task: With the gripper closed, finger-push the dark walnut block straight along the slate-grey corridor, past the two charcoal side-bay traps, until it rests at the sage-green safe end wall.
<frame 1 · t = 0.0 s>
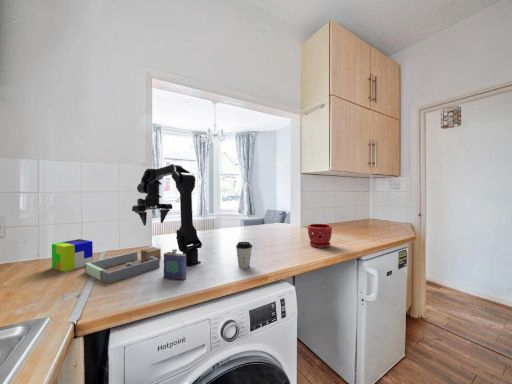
hand: (153, 224, 112), 15 cm above the worktop, fingers open, 9 cm apart
plant pot: (319, 246, 127), on the worktop
walnut block: (150, 260, 102), on the worktop
puzzle toy: (72, 266, 94), on the worktop
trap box: (120, 268, 91), on the worktop
flask: (174, 278, 81), on the worktop
coffee cup: (244, 267, 93), on the worktop
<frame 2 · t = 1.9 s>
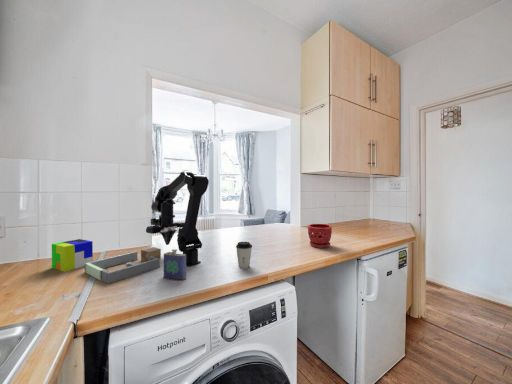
hand: (167, 244, 109), 5 cm above the worktop, fingers closed
nothing on the worktop moved.
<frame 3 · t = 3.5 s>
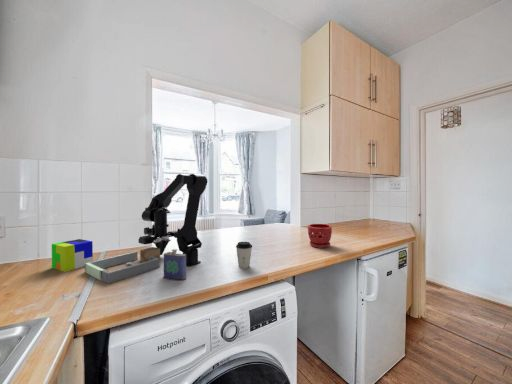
hand: (160, 254, 106), 1 cm above the worktop, fingers closed
walnut block: (150, 260, 102), on the worktop, touching gripper
everything else where it was.
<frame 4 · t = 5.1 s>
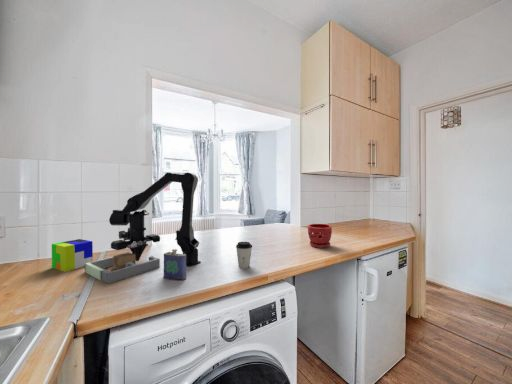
hand: (137, 260, 97), 1 cm above the worktop, fingers closed
walnut block: (124, 267, 92), resting in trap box, touching gripper
everything else where it was.
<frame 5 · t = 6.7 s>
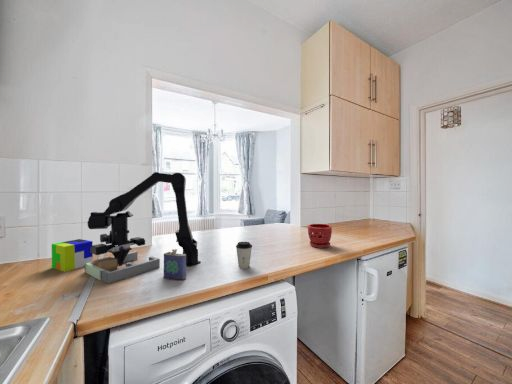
hand: (119, 266, 91), 1 cm above the worktop, fingers closed
walnut block: (105, 272, 86), resting in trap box, touching gripper
everything else where it was.
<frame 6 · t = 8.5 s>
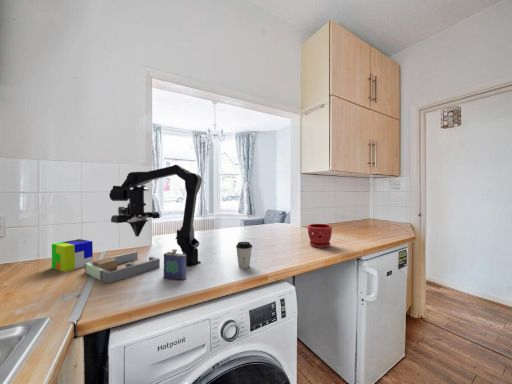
hand: (137, 236, 97), 12 cm above the worktop, fingers closed
walnut block: (105, 273, 86), resting in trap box
everything else where it was.
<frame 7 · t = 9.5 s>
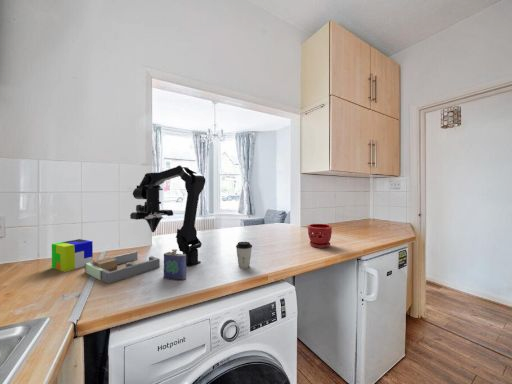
hand: (153, 232, 106), 12 cm above the worktop, fingers closed
nothing on the worktop moved.
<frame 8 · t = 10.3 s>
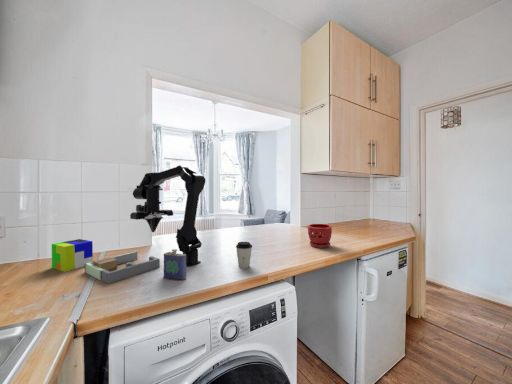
hand: (153, 232, 106), 12 cm above the worktop, fingers closed
nothing on the worktop moved.
at the end: walnut block inside the target area (0.8 cm from its centre), resting in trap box; walnut block tilted 0° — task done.
